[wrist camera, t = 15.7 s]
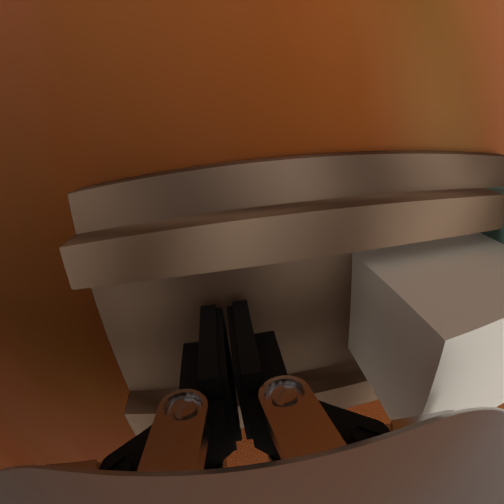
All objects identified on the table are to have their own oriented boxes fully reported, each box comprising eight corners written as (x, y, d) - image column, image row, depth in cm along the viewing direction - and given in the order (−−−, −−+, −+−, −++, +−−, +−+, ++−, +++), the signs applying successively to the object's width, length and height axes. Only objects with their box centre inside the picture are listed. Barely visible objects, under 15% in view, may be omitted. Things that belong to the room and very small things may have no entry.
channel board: (152, 410, 15) (140, 494, 10) (82, 187, 11) (5, 223, 6) (470, 343, 17) (519, 392, 12) (498, 154, 13) (577, 172, 8)
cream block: (348, 347, 13) (407, 450, 8) (352, 252, 12) (445, 340, 6) (465, 314, 14) (537, 380, 8) (479, 232, 12) (573, 283, 7)
